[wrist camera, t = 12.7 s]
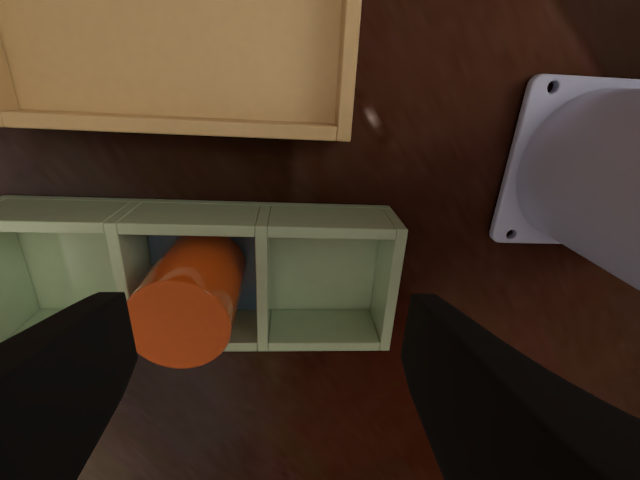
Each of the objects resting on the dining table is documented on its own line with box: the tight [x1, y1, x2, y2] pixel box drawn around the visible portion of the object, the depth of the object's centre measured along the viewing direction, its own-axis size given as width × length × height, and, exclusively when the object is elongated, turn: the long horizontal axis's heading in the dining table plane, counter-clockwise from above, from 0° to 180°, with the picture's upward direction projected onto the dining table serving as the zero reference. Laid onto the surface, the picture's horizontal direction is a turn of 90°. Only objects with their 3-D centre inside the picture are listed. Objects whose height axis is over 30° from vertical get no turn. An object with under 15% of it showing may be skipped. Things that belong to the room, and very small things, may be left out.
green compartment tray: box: [0, 195, 408, 351], centre depth 17 cm, size 18×6×3 cm, turn 87°
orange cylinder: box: [127, 236, 247, 369], centre depth 16 cm, size 4×4×5 cm
